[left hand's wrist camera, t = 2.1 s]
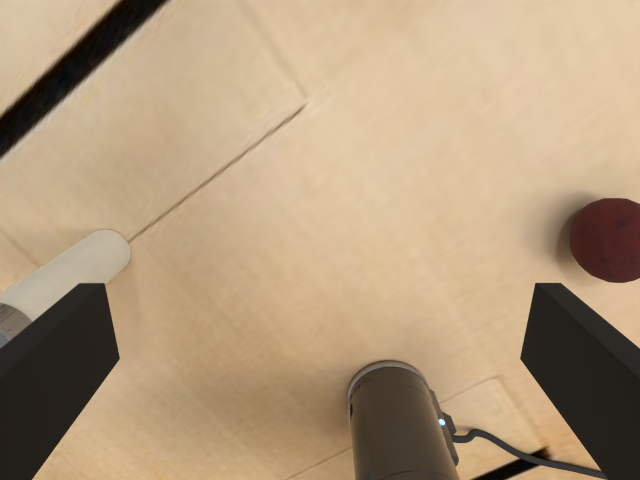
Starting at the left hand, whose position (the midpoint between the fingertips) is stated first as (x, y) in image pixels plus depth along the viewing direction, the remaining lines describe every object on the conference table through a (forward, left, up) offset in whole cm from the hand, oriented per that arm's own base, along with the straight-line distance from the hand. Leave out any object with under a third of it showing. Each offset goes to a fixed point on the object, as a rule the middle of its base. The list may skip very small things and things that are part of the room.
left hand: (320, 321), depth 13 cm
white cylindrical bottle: (+9, -21, -28) cm, 36 cm away
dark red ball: (+6, +27, -28) cm, 39 cm away
